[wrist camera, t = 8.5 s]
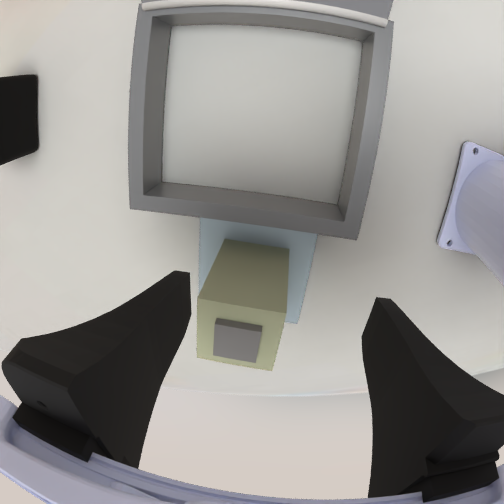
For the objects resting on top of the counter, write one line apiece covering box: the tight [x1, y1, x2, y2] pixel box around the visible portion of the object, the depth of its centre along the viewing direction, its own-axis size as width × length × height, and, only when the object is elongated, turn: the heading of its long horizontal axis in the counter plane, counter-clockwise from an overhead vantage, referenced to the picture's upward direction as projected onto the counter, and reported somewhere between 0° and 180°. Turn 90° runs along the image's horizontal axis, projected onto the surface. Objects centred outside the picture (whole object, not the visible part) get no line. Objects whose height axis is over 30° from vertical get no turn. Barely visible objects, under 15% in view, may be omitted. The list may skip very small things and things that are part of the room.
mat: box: [199, 218, 318, 324], centre depth 23 cm, size 8×8×1 cm
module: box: [197, 239, 289, 371], centre depth 19 cm, size 4×4×8 cm
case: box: [128, 0, 394, 240], centre depth 13 cm, size 14×18×8 cm
